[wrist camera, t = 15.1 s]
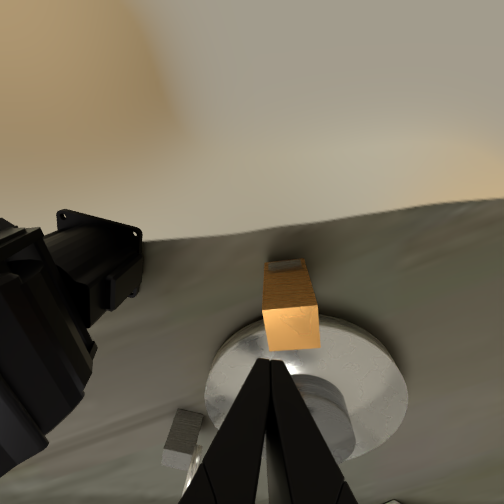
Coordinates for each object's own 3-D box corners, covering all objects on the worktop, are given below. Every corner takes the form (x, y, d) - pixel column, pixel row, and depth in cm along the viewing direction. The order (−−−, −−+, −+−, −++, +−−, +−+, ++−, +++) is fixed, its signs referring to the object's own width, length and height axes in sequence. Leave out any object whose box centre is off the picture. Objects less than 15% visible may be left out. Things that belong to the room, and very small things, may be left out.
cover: (324, 441, 24) (333, 488, 21) (245, 421, 24) (241, 466, 20) (360, 387, 21) (377, 433, 17) (270, 364, 20) (269, 406, 17)
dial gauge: (174, 427, 29) (149, 499, 23) (178, 405, 28) (152, 477, 22) (204, 434, 29) (187, 507, 23) (210, 413, 28) (193, 486, 22)
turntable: (391, 442, 26) (423, 520, 21) (229, 445, 29) (219, 516, 23) (409, 245, 18) (472, 291, 12) (173, 273, 20) (136, 321, 14)
